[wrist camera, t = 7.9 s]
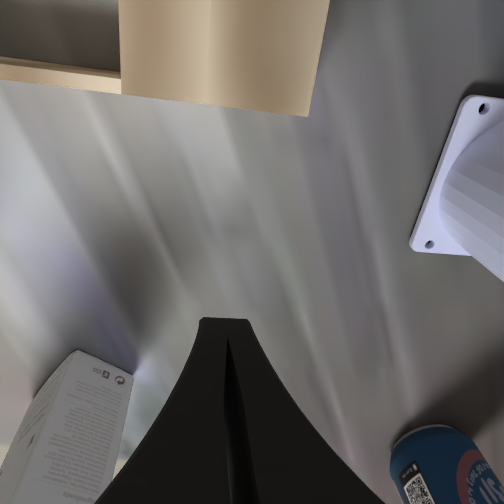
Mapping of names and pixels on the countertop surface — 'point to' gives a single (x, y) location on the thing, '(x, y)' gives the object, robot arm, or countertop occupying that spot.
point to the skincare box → (68, 435)
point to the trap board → (204, 54)
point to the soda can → (442, 469)
